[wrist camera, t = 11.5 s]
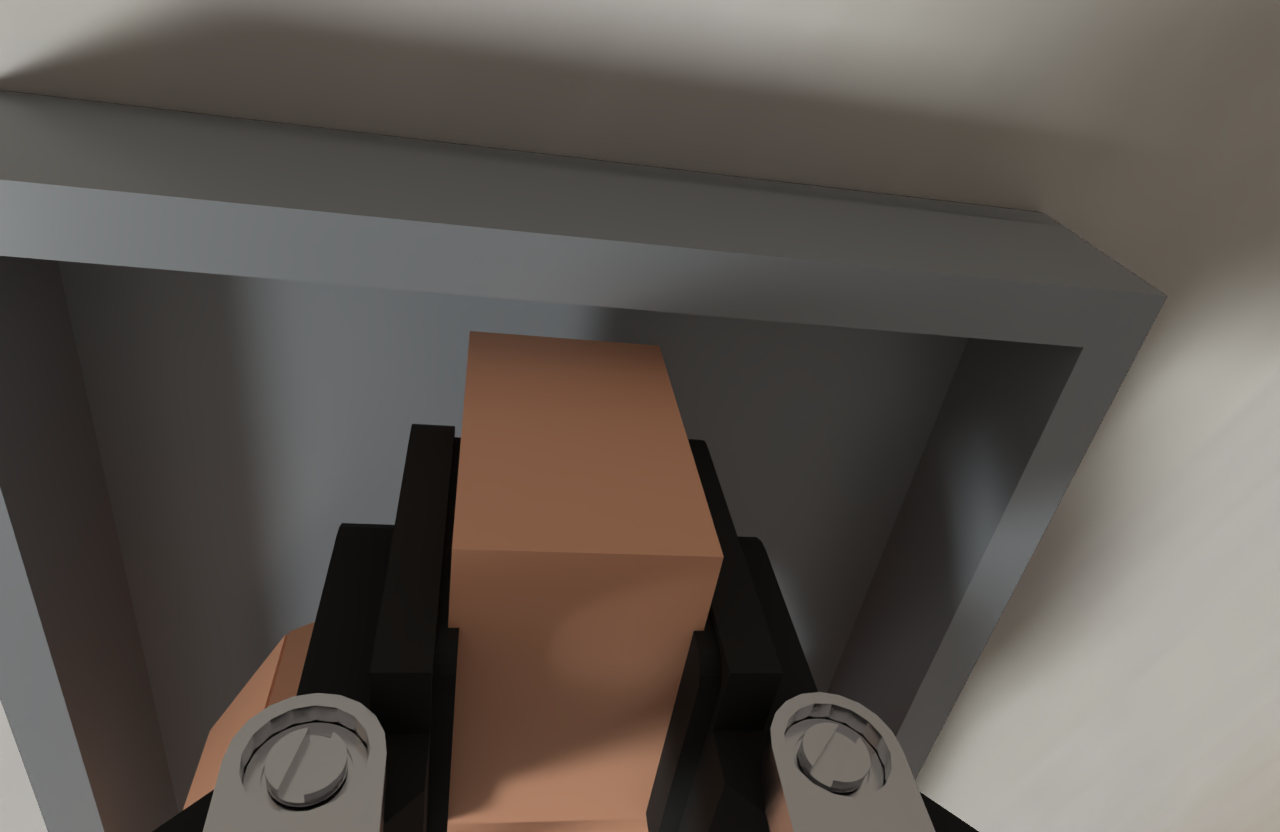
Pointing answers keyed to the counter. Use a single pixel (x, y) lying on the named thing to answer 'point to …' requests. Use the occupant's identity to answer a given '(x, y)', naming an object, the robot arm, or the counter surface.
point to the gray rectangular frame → (435, 387)
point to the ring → (555, 588)
